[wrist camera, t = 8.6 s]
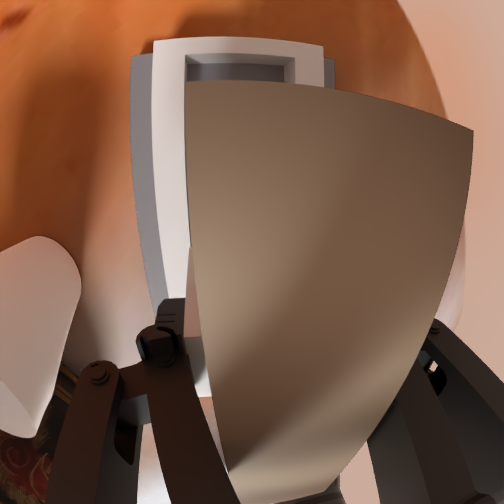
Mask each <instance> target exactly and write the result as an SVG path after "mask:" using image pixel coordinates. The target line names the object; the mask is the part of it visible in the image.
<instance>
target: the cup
mask: <svg viewBox="0 0 504 504" xmlns="http://www.w3.org/2000/svg"><path fill="white" fill-rule="evenodd" d="M80 295H81V278H80V274H79V271H78V268H77V266H76V264H75V262H74V260H73V259H72V257H71V256H70V254H69V253H68V252H67V251H66V250H65V249H64V248H63V247H62V246H61V245H60V244H58V243H57V242H55V241H54V240H52V239H50V238H47V237H43V236H34V237H31V238H29V239H26V240H24V241H22V242H20V243H18V244H16V245H14V246H12V247H10V248H8V249H6V250H4V251H2V252H0V429H1V430H3V431H5V432H7V433H10V434H12V435H15V436H18V437H22V438H32V437H34V436H35V435H36V433H37V430H38V427H39V425H40V422H41V419H42V417H43V414H44V412H45V410H46V407H47V405H48V403H49V401H50V400H51V398H52V395H53V391H54V388H55V383H56V379H57V374H58V370H59V365H60V361H61V357H62V353H63V350H64V346H65V342H66V339H67V335H68V332H69V328H70V325H71V322H72V319H73V316H74V313H75V310H76V307H77V304H78V301H79V298H80Z"/></svg>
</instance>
